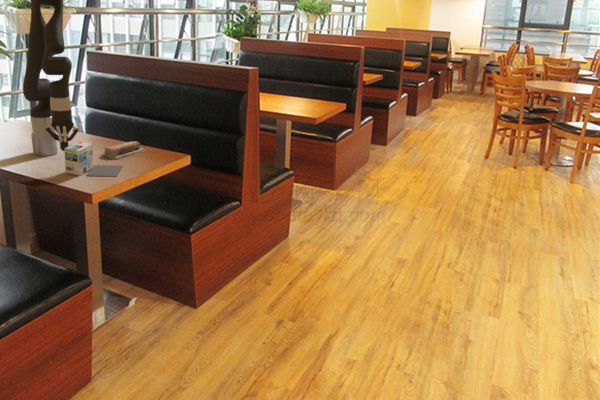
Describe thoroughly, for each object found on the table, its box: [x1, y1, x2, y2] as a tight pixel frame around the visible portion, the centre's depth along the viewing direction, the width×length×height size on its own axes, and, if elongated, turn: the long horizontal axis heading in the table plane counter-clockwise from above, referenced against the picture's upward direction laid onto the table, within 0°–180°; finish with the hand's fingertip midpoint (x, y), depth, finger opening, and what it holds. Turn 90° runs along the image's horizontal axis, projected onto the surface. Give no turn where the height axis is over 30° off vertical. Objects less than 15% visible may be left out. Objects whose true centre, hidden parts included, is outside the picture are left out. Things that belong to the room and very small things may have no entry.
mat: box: [85, 164, 124, 177], centre depth 234 cm, size 12×14×1 cm
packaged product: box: [101, 141, 146, 160], centre depth 258 cm, size 18×5×10 cm
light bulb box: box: [64, 140, 94, 177], centre depth 230 cm, size 11×7×11 cm, turn 169°
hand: (64, 150), depth 227 cm, fingers closed
